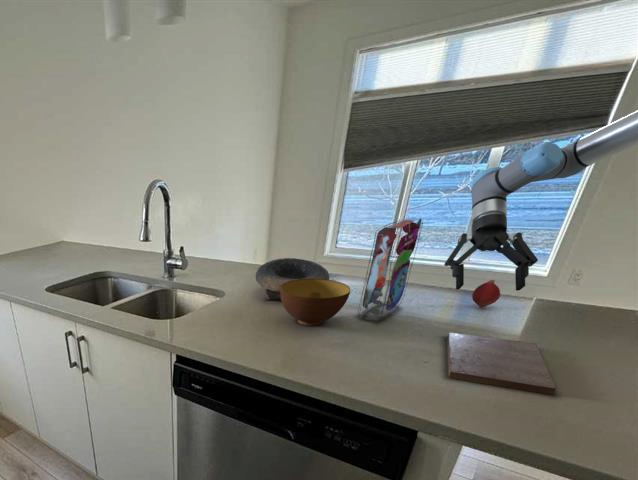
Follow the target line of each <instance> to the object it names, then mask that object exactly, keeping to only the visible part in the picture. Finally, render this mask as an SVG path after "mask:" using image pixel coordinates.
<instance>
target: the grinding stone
mask: <svg viewBox="0 0 638 480" xmlns="http://www.w3.org/2000/svg"><path fill="white" fill-rule="evenodd" d="M297 279H327V280H330V274H329V271H328V270H327V269H326V268H325V267H324V266H322V265H321V264H320V263H317V262H314V261H311V260H308V259H303V258H297V257H296V258H295V257H283V258H277V259H272V260H270V261H267V262H265V263H263V264H262V265H260V266H259V267H258V269H257V270H256V272H255V280H256V282H257V283H258V284H259V285H260V286H261V287H262V288H263V289H264V290H265V295H266V301H274V300H281V295H280V289H281V285H282V284H284V283H286V282H288V281H292V280H297Z"/></svg>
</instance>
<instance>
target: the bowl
mask: <svg viewBox="0 0 638 480" xmlns="http://www.w3.org/2000/svg"><path fill="white" fill-rule="evenodd" d="M350 294H351V287H350V286H349V285H347V284H346V283H343V282H341V281H337V280H333V279H329V280H327V279H297V280H292V281H288V282H286V283H284V284H282V285H281V289H280V295H281V299H280V300H281V303H282V306H283V307H284V309H285V311H286V312H287V313H288V315H290V316H291V317H292V318H294V319H296V320H297V323H299V324H301V325H303V326H309V327H313V326H314V327H315V326H319V325H321V324H322V322H325V321H327V320H330V319H331V318H332V317H333V318H334V316H335V315H337V314H338V313H340V310H342V309H343V307H344V306H345V305H346V303H347V301H348V299H349V296H350Z"/></svg>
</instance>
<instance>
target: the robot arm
mask: <svg viewBox="0 0 638 480" xmlns="http://www.w3.org/2000/svg"><path fill="white" fill-rule="evenodd" d="M636 146H638V110H636V111H633V112H632V113H629V114H627V115H625V116H623V117H621V118H619V119H618V120H615V121H613V122H611V123H609V124H607V125H605V126H602V127H600V128H599V129H597V130H594V131H593V132H591V133H589V134H587V135H585V136H583V137H581V138H579V139H577V140H575V141H573V142H571V143H569V144H566V145H565V146H562V147H560V146H559V145H558V144H556V143H553V142H552V141H545V142H542V143H539V144H537V145H536V146H534V147H532V148H530V149H528V150H527V151H526V152H524V153H523V154H521V155H520V156H518V157H517V158H515V159H514V160H512V161H511V162H509V163H508V164H506V165H505V166H503V167H501V166H491V167H489V168H487V169H483V170H481V171H479V172H478V173H476V175H475V176H474V177H473V179H472V183H471V189H470V194H471V235H468V234H467V233H466V232H463V233H462V234H461V235H460V237H458V239H457V244H456V246H455V248H454V249H453V250H452V252H451V253H450V255H449V256H448V257H447V259H446V260H445V262H444V263H443V265H444V266H445V267H450V269H451V276H452V278H455V290H460V289H462V287H463V286H464V285H465V284H464V283H465V282H464V281H465V280H464V279H465V275H464V274H465V263H463V262H464V261H466V260H467V259H469V257H470V256H472V255H473V254H474V253H475V252H476V251H477V250H479V251H480V252H495V251H496V252H497V253H498V254H502V255H503V256H504V257H505V258H506V259H508V260H509V261H510V262H511V263H513V264H514V265H515V266H516V268H514V273H515V277H514V278H515V291H516V292H517V291H518V292H519V291H521V290H522V289H524V287H526V278H527V277H528V276H529V275H530V267H533V266H534V265H535V264H536V263H537V262H538V261H539V259H538V258H537V256H536V255H535V253H534V252H533V251H532V249H531V248H530V247H529V246H528V244H527V242H526V241H525V240H524V239H523V235H522V232H516V233H515V234H508V231H507V230H508V217H507V216H508V211H507V209H508V208H507V197H508V196H509V195H510V194H512V193H515V192H517V191H518V190H520V189H522V188H524V187H525V186H527V185H529V184H531V183H536V182H542V181H549V180H556V179H566V178H569V177H573V176H576V175H578V174H580V173H582V172H583V171H584V170H585V169H587V167H590V166H592V165H594V164H597V163H599V162H601V161H603V160H605V159H608V158H610V157H613V156H615V155H618V154H619V153H622V152H624V151H626V150H629V149H631V148H633V147H636ZM468 242H470V243H471V244H472V245H473V246H471V247H470V248H469V249H468V250H466V251H465V252H464V253H463V254H462V255H461V256H460V257H458V258H457V259H456V260H455V258H456V257H457V255H458V254H459V252H460V251H461V249H462V248H463V247H464V245H465V244H467V243H468Z"/></svg>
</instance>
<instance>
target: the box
mask: <svg viewBox="0 0 638 480" xmlns="http://www.w3.org/2000/svg"><path fill="white" fill-rule="evenodd" d="M423 222H424V221H423V220H422V218H417V219H416V218H415V219H405V218H404V219H400V220H397V221H393V222H390V223H388V224H385V225H383V226H382V228H381V229H380V228H378V229H376V230H375V234H374V239H373V245H372V249H371V252H370V256H369V261H368V265H367V268H369V267H370V269H366V274H365V277H367V278H365V279H364V281H365V282H364V283H363V285H364V286H363V287H362V292H361V296H360V301H359V302H360V304H359V306H358V307H359V308H358V310H357V312H358V313H357V315H358V316H361V315H362V320H364V321H366V319H365V318H367V319H368V316H365V315H364V314H365V313H366V312H367V311H368V309H369V305H377V306H375V307H371V308H370V310H369V312H370V314H371V315H372V316H376V317H378V316H380V318H379V320H378V321H377V323H379V322H382V321H383V320H385V319H386V317H387V316H388V317H390V316H391V314H389V313H387V314H385V315H384V316H383V312H384V309H385V311H386V312H388V311H389V312H390V313H392V314H394V313H395V311H397V310H399V306H400V304H402V302H403V300H404V297H405V293H406V292H405V291H407V287H408V285H406V284H408V282H409V281H407V280H409V279H410V277H408V276H411V275H410V274H411V270H412V267H413V264H414V260H415V258H416V257H415V256H416V252H417V249H418V245H419V241H420V238H421V233H422V229H423V225H424V223H423ZM397 230H399V231H397ZM401 230H402V231H403V233H405V235H401V237H400V234H401ZM399 237H400V239H399ZM398 240H399V242H398ZM417 240H418V242H417ZM397 242H398V243H397ZM396 243H397V244H396ZM395 245H396V246H395ZM394 248H395V251H394V250H393V249H394ZM414 250H415V252H414ZM393 252H394V253H393ZM395 253H396V256H395ZM413 253H414V255H413V256H414V257H413V261H412V262H411V259H410V258H411V256H412V254H413ZM392 254H393V255H392ZM394 257H395V260H394V262H393V259H394ZM371 259H372V260H371ZM392 262H393V263H394V264H393V268H391V267H392ZM370 263H371V264H370ZM410 264H411V265H410ZM389 265H390V267H389ZM388 268H389V274H388ZM391 269H392V270H391ZM368 272H369V273H368ZM408 273H409V274H408ZM387 274H388V277H390V278H388V283H387V285H386V280H387ZM390 274H391V275H390ZM385 286H387V287H386V290H385V292H383V290H384V287H385ZM363 293H364V294H363ZM384 293H385V294H384ZM387 295H388V296H387ZM383 296H384V301H381V298H382V297H383ZM379 297H380V298H379ZM401 299H402V300H401ZM386 300H387V301H386ZM399 302H400V303H399ZM361 304H362V307H363V308H364V309H365V310H364V311H363V312H362V313H361V312H360V311H361V309H362V307H361ZM380 306H382V309H381V311H380V309H379V308H378V307H380ZM384 307H385V308H384ZM359 309H360V310H359ZM381 319H382V320H381ZM368 321H369V322H370V321H373V322H375V323H376V320H374V319H372V318H371V319H368Z"/></svg>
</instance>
